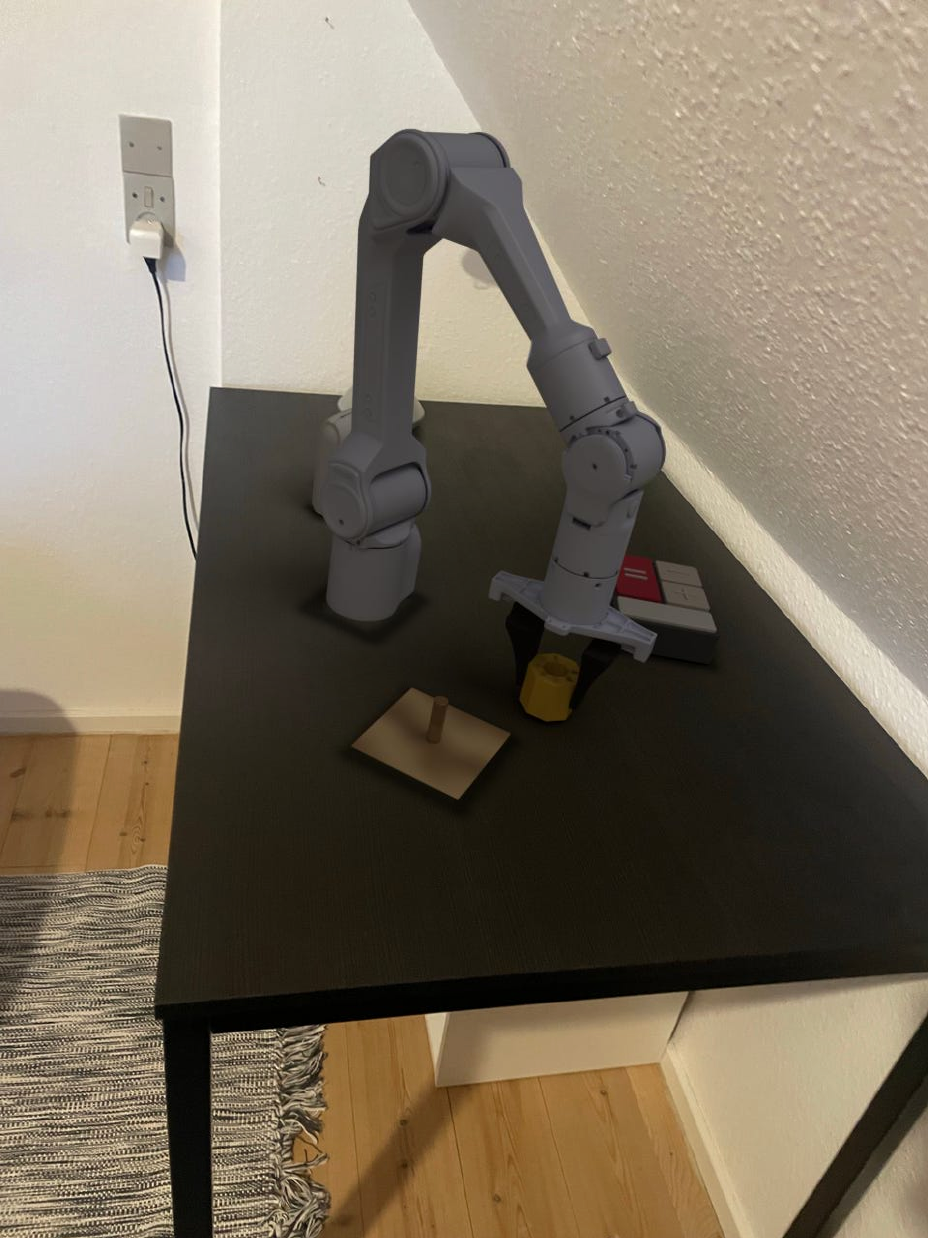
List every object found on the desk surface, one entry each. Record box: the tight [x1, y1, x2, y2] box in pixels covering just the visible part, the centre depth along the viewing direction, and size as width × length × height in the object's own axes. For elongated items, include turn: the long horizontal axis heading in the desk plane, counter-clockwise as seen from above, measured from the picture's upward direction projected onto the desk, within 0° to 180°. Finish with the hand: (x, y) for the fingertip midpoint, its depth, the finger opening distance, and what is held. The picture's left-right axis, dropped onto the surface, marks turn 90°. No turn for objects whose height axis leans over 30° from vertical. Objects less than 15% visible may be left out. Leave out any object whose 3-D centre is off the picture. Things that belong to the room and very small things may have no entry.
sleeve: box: [518, 652, 580, 722], centre depth 84 cm, size 5×5×4 cm
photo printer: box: [311, 407, 352, 517], centre depth 110 cm, size 10×4×12 cm, turn 137°
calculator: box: [609, 553, 721, 665], centre depth 103 cm, size 11×4×15 cm
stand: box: [350, 687, 511, 800], centre depth 78 cm, size 10×10×5 cm
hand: (549, 692), depth 84 cm, fingers closed on sleeve, 4 cm apart
